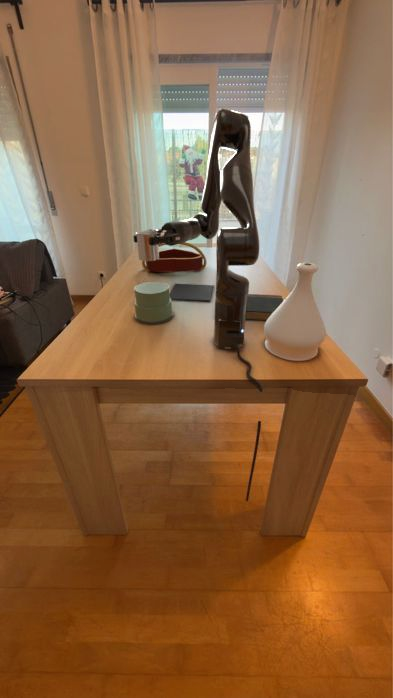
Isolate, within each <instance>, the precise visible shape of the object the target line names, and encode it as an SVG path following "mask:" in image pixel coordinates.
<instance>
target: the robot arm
mask: <svg viewBox="0 0 393 698" xmlns="http://www.w3.org/2000/svg"><path fill="white" fill-rule="evenodd" d="M251 125H252V124H251V119H250V117H249V116H248V115H247V114H245V113H243V112H238V111H234V110H231V109H227V108H219V109H218V111H217V112H216V114H215V117H214V120H213V126H212V128H211V137H210V142H209V143H210V144H209V150H208V151H209V152H208V159H207V167H206V178H205V183H204V184H205V185H204V189H203V193H202V197H201V201H200V209H201V211H202V212H203V213H202V212H199V213H197V214H195V215H193V216H192V217H191V218H189V219H188V218H187V219H184V220H182V219H179V220H173V221H168V222H165V223H163V224H162V225H161V226H162V227H161V228H157V229H152V228H150V229H146V230H145V231H156V232H157V234H158V236H157V237H152V238H149V244H150V245H151V246H153V245H157V244H161V245H162V244H165V245H164V246H169V247H173V246H177V245H181V244H180V243H184V242H186V243H187V242H188V241H192V240H195V239H198V238H199V237H200V236H202V237H203V238H205V239H207V240H212V239H214V238H215V237H216V243H215V246H216V247H215V251H216V252H215V253H216V274H215V275H216V277H215V298H214V299H215V300H214V322H213V323H214V325H213V344H214V345H215V346H216V347H217V349H219V350H232V351H236V356H237V358H238V359H239V360H240V361H241V363H244V364H246V365H247V367H248V368H247V369H246V376H247V378H248V379H249V380H250V381H252V382H253V383H255V385H256V386H257V389H258V391H259V392H263V388H262V384H261V383H260V382H259V380H257V379H256V378H255V377H253V376H251V374H250V371H251V369H252V364H251V363H250V362H249V361H248V360H246V359H244V358H243V357H242V356H241V352H240V348H241V347H242V346H244V343H245V329H246V321H247V320H246V311H247V301H248V294H249V292H250V291H249V290H250V280H249V279H248V278H247V277H245V276H244V275H241V274H239V273H236V272H234V271H232V270H231V269H230V268H229V267H231V266H232V267H235V266H236V267H237V266H239V267H241V266H242V267H245V266H246V267H247V266H248V267H249V266H253V265H255V264H256V263H257V262H258V259H259V256H260V236H259V229H258V225H257V218H256V212H255V199H254V197H255V196H254V178H253V171H252V160H251V139H252V137H251V136H252V134H251V133H252V126H251ZM221 148H222V149H226V150H229V151H234V152H235V153H234V154H233V155H232V156H231V157H230V158H229V159H228V161H226V162H225V164H224V166H222V168H221V166H220V160H219V159H220V149H221ZM222 203H223V205H224V206H225V208H226V209H227V210H228V211H229V212H230V214H231V215H233V216H234V218H235V219H236V220H237V222H238V223H239V225H240V227H222V228H220V208H221V204H222ZM219 228H220V229H219ZM132 237H133V243H137V235H136V234H135V235H133V236H132ZM261 427H262V421H261V420H258V421H257V427H256V428H257V429H256V437H255V445H254V451H253V455H252V462H251V468H250V473H249V479H248V484H247V488H246V489H247V490H246V497H245V501H246V502H249V499H250V491H251V486H252V480H253V477H254V476H253V475H254V471H255V466H256V460H257V456H258V455H257V453H258V449H259V444H260V443H259V442H260V435H261Z"/></svg>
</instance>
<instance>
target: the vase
mask: <svg viewBox="0 0 393 698" xmlns="http://www.w3.org/2000/svg"><path fill="white" fill-rule="evenodd" d="M296 270H297V272H298V277H297V280H296V283H295V286H294V287H293V289H292V290H291V291H290V292H289V294H288V295H287V296H286V297H285V299H283V302H282V303H281V304H280V306H279V307H278V308H277V309H276V310H275V311H274V312H273V313H272V314H271V316H270V317H269V318H268V319H267V321H265V322H264V325H263V332H264V335H265V338H266V339H265V341H264V346H265V348H266V350H267V351H268V352H270V353H271V354H272V355H274V356H276V357H278V358H280V359H284V360H288V361H294V362H295V361H296V362H302V361H308V360H312V359H313V358H315V357H316V356H317V355H318V354H319V347H320V346H321V345H322V344H323V343H324V342H325V340H326V337H327V330H326V326H325V323H324V320H323V318H322V315H321V313H320V310H319V308H318V306H317V303H316V301H315V297H314V294H313V290H312V289H313V288H312V280H313V276H314V274H315V273H317V271H318V270H319V267H318V265H317V264H315V263H312V262H301V263H298V264H296Z"/></svg>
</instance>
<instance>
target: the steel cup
mask: <svg viewBox="0 0 393 698" xmlns="http://www.w3.org/2000/svg"><path fill="white" fill-rule="evenodd" d="M135 235H137V252H138V253H137V254H138V259H139V260H140V261H141V262H142V261H145V262H146V261H154V260H158V259H159V251H160V250H159V247H158V244H157V245H153V246H151V245H150V244H149V238H152V237H157V236H158V234H157V232H156V231H146V230H140V231H137V232H135Z"/></svg>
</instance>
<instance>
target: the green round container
mask: <svg viewBox="0 0 393 698" xmlns="http://www.w3.org/2000/svg"><path fill="white" fill-rule="evenodd" d="M133 289H134V297H135V298H134V300H133V301H134V302H133V304H134V311H135V314H134V319H135V320H136V322H138V323H140V324H144V325H162V324H165V323H168V322H169V321H171V320H172V319H173V318H174V312H173V306H172V304H173V303H172V302H173V301H172V300H171V298H170V296H169V294H170V286H169V284H167V283H166V282H162V281H147V282H142V283H139V284H137V285H135V286H134V288H133Z"/></svg>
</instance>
